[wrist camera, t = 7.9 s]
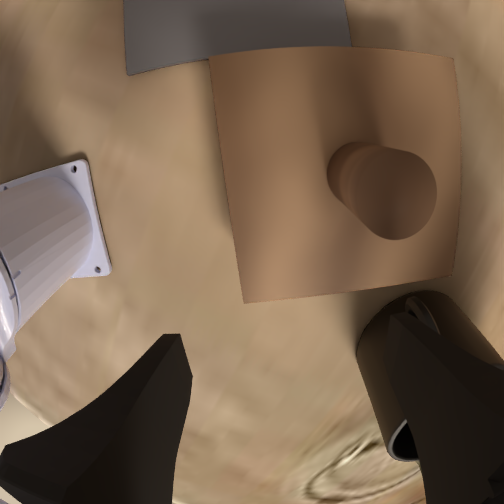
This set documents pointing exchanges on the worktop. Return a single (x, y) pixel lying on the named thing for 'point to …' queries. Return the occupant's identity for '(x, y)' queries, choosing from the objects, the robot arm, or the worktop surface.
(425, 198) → the lid
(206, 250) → the worktop surface
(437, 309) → the mug
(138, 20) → the mat
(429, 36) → the worktop surface
